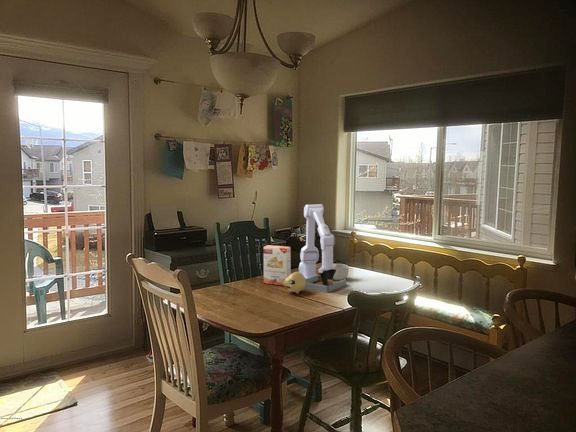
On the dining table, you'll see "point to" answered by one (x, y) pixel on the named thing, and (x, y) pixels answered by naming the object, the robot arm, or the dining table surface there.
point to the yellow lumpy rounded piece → (295, 282)
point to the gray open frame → (322, 287)
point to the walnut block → (329, 282)
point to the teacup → (341, 272)
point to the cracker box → (276, 264)
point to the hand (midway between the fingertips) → (327, 283)
